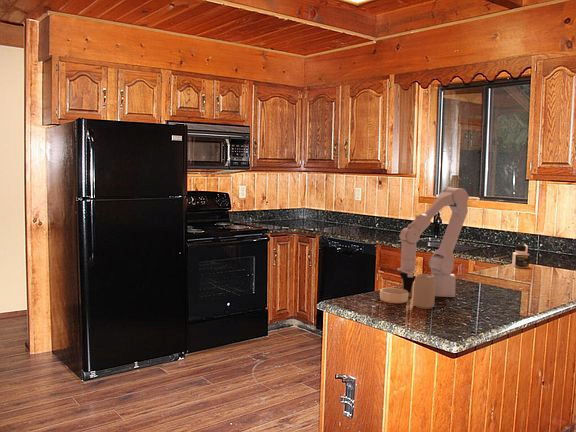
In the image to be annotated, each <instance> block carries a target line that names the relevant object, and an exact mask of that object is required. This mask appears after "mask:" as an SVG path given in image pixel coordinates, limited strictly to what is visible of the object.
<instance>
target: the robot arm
mask: <svg viewBox="0 0 576 432" xmlns="http://www.w3.org/2000/svg"><path fill="white" fill-rule="evenodd" d="M469 198H470V196H469V194H468V192H467V191H466V189H465V188H463V187H460V188H457V187H450V186H449V187H445V188H444V189H443V190H442V191H441V192H440V193H439V194H438V197H437V198H435V200H434V201H433V203H432V204H431V205H430V206H429V207H428V208H427V209H426V210H425V212H424V213H420V214H417V215H415V218H414V220H413V221H412V222H411V223H408V225H407V227H404V228H403V229H401V231H400V233H399V234H398V237H399V240H400V241H401V247H400V249H401V250H400V268H399V267H398V268H397V271H398V272H399V276H400V278H401V280H402V279H403V283H404V290H407V291H408V293H410V292H411V288H412V284H413V285H414V283H415V278H416V277H417V275H415V272H416V271H417V269H416V259H417V257H416V256H417V242H418V241H420V237H421V235H422V233H423V232H425V230H426V229H427V228H428V227H429V226H430V225H431V222H432V221H431V220H433V218H434V217H435V216H436V215H437V214H438V213H439V212H441V210H442V209H443V208H445V207H449V209H450V210H451V216H450V219H449V221H448V224H447V226H446V229H445V233H444V235H443V237H442V240H441V241H440V245H439V248H438V249H436V250H435V251H434V252H433V255H432V256H431V257H430V258H429V259H428V267H429V268H430V272H431V273H430V275H433V276H434V277H433V278H434V279H435V280H436V281H435V297H443V298H444V297H445V298H448V297H449V298H455V297H456V284H457V283H456V280H457V279H456V275H455V274H454V273H452V272H453V270H454V267H455V266H454V265H455V264H454V262H455V256H454V253H453V252H454V250H455V247H456V244H457V242H458V239H459V236H460V233H461V231H462V228H463V226H464V223H465V220H466V217H467V215H468V209H469V208H468V201H469Z"/></svg>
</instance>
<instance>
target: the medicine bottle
mask: <svg viewBox="0 0 576 432" xmlns="http://www.w3.org/2000/svg"><path fill="white" fill-rule="evenodd" d="M514 248H515V250H514V251H515V252H512V259H511V260H512V262H511V263H512V264H511V265H512V266H513V267H514V268H519V269H521V268H524V269H529V268H530V257H531V256H530V254H529V253H528V249H529V246H528V245H527V244H525V243H518V244H516V245H515V247H514Z"/></svg>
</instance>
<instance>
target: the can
mask: <svg viewBox="0 0 576 432" xmlns="http://www.w3.org/2000/svg"><path fill="white" fill-rule="evenodd" d="M433 277H434V276H433V275H431V274H429V273H421V274H420V273H418V274H416V278H415V280H414V282H413V286H414V287H413V288H414V289H413V305H414V306H415V307H416V308H418V309H423V310H431V309H432V308H433V307H434V306H435V301H436V300H435V298H436V296H435V281H436V280H435V279H434V278H433Z"/></svg>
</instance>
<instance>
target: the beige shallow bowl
mask: <svg viewBox="0 0 576 432" xmlns="http://www.w3.org/2000/svg"><path fill="white" fill-rule="evenodd" d="M379 300H380V301H382V302H385V303H391V304H405V303H407V302H408V301H409V297H408V291H407V290H404V289H401V288H400V287H384V288H380V289H379Z"/></svg>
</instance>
